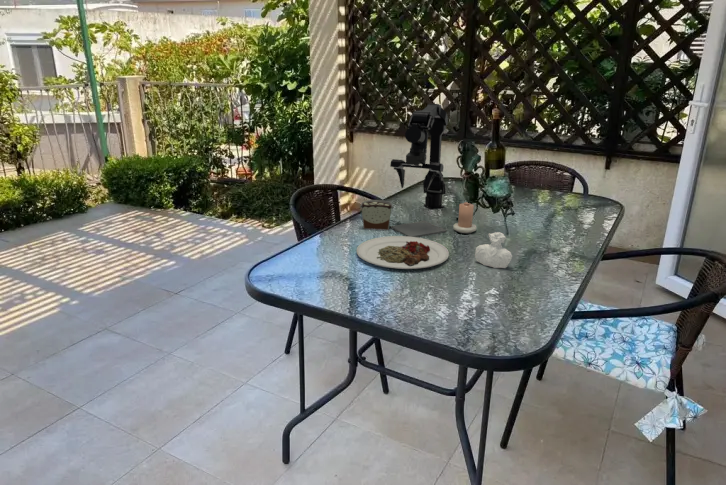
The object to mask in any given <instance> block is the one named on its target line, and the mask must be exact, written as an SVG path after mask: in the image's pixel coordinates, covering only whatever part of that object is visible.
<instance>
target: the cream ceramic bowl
mask: <svg viewBox="0 0 726 485" xmlns="http://www.w3.org/2000/svg"><path fill="white" fill-rule="evenodd" d="M452 226H453V228H452V229H453V230H454V231H456V232H457V233H461V234H472V233H474V232H476V231H477V225H476V224H475V223H472V227H470V228H462V227H459V226H458V222H456V223H454V224H453V225H452Z"/></svg>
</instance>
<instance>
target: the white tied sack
mask: <svg viewBox="0 0 726 485" xmlns="http://www.w3.org/2000/svg"><path fill="white" fill-rule="evenodd" d="M488 237H489V241H490V244H488V243H487V244H486V243H484V244H480V245H478V246H476V248H475V251H474V253H475V254H474V256H475V260H476V261H477V262H478V263H480V264H482V265H483V266H487V267H490V268H493V269H506V268H507V267H508V266H509V264H510V262H511V260H512V259H513V255H512V252H511V251H509V250H508V248H505V247H503V246H502V244H505V240H507V237H506V235H505V234H504V233H502V232H500V231H497V232H496V231H494V232H493V233H488Z"/></svg>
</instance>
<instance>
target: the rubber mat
mask: <svg viewBox="0 0 726 485" xmlns="http://www.w3.org/2000/svg"><path fill="white" fill-rule="evenodd" d="M389 228H390V229H392V230H393V231H395V232H397V233H399V234H401V235H402V236H409V237H418V238H422V237H426V236H431V235H437V234H442V233H447V229H444V228H442V227H440V226H437V225H435V224H433V223H430V222H429V221H426V220H420V221H414V222H408V223H402V224H401V223H400V224H395V225H391V226H390V225H389Z"/></svg>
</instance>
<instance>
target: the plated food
mask: <svg viewBox="0 0 726 485" xmlns="http://www.w3.org/2000/svg"><path fill="white" fill-rule="evenodd" d="M356 254H357V255H358V257H359V258H360V259H362V260H363V261H364V262H367V263H369V264H371V265H372V264H373V265H375V266H377V267H383V268H387V269H388V268H390V269H396V270H397V269H399V270H400V269H401V270H412V269H414V270H417V269H424V268H425V269H426V268H430V267H434V266H437V265H438V266H439V265H441V264H442V263H444V262H445V261H447V260H448V258H449V256H450V252H449V250H448V248H447V247H446V246H444V245H443V244H441V243H439V242H436V241H434V240H432V239H428V238H422V237H409V236H405V235H389V236H388V235H387V236H381V237H380V236H379V237H375V238H371V239H368V240H366V241H363V242H362V243H360V244H359V245H358V246H357V247H356Z"/></svg>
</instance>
